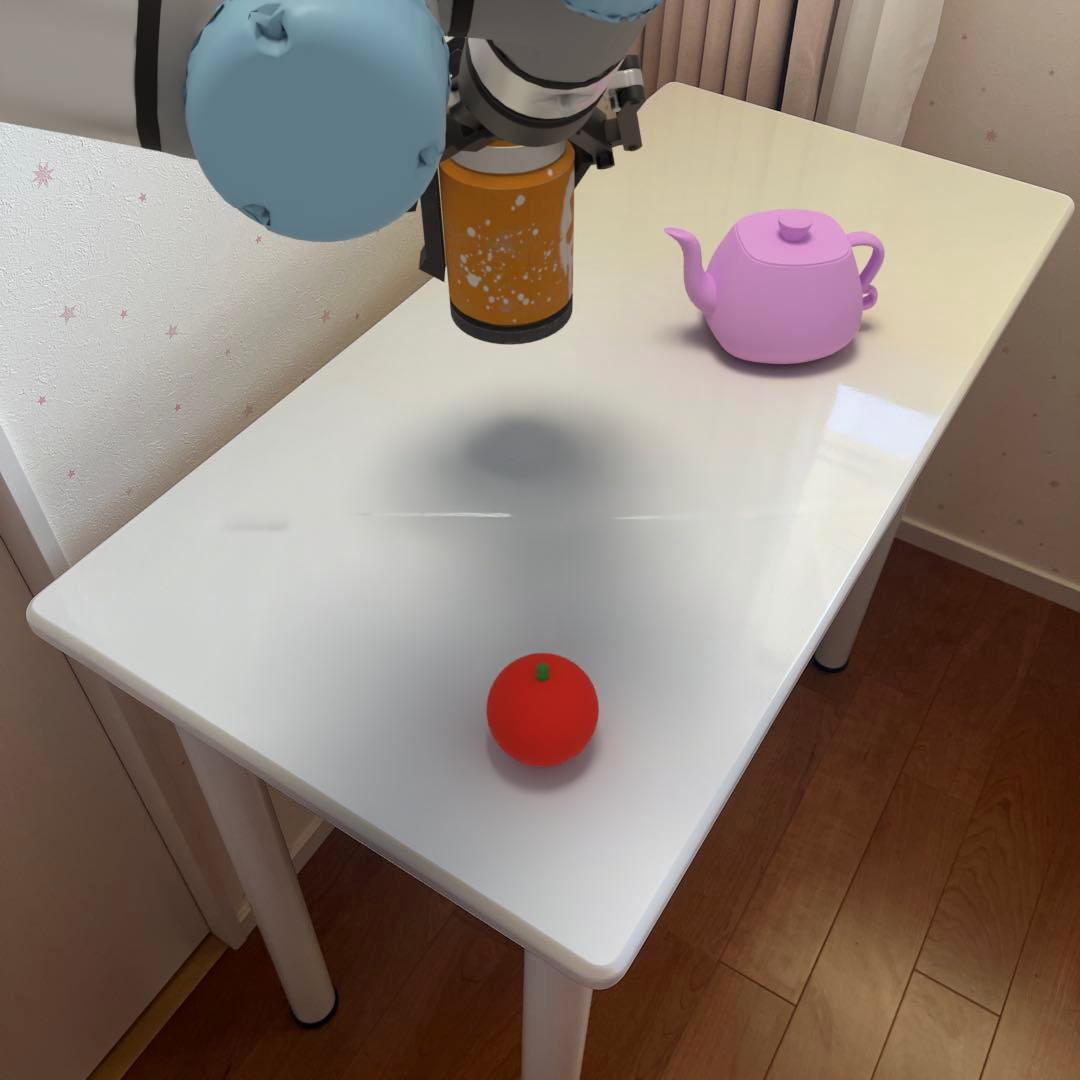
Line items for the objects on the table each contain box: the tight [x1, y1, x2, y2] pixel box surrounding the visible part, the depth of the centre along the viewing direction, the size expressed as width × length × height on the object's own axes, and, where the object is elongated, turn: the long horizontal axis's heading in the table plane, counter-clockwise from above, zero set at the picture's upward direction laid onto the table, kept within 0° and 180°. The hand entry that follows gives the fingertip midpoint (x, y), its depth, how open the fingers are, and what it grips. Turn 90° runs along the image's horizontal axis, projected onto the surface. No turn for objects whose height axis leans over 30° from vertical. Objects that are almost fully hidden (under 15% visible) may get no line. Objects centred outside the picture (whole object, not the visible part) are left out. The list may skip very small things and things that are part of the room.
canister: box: [418, 37, 575, 346], centre depth 74 cm, size 9×11×20 cm
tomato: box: [486, 652, 600, 768], centre depth 68 cm, size 7×7×8 cm
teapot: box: [663, 208, 886, 365], centre depth 97 cm, size 20×13×12 cm, turn 96°
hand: (486, 182), depth 77 cm, fingers closed on canister, 10 cm apart
